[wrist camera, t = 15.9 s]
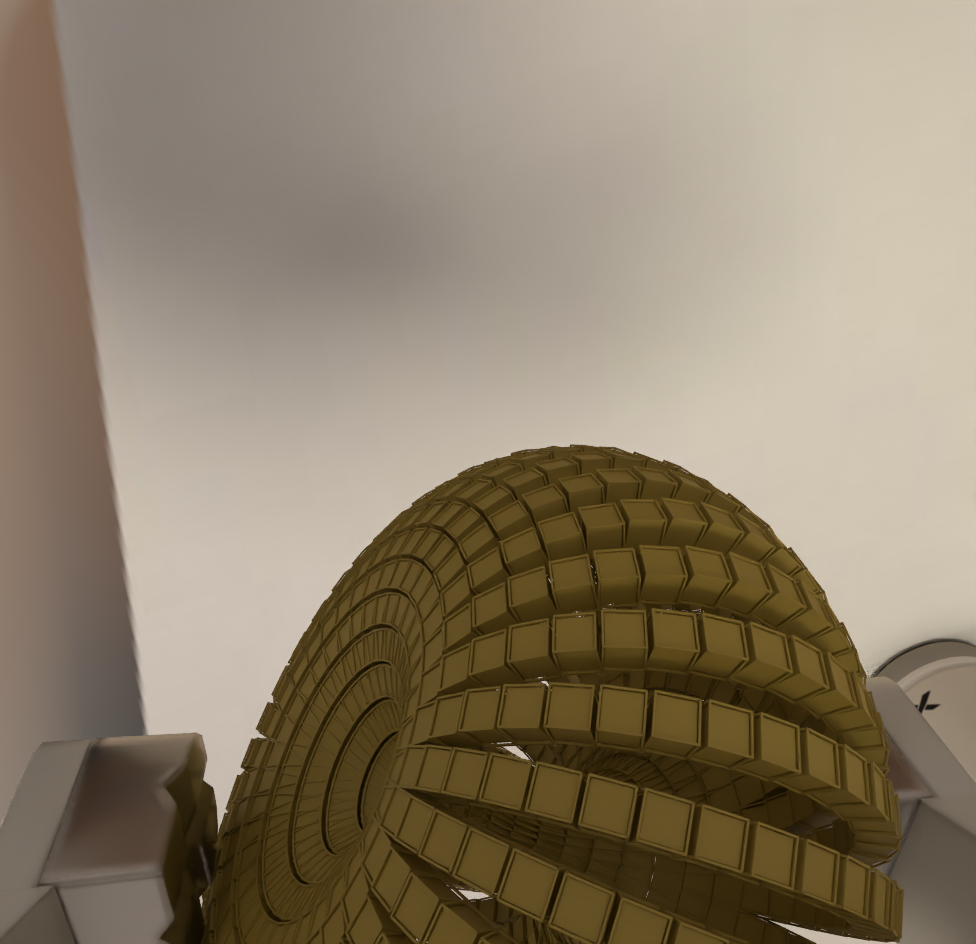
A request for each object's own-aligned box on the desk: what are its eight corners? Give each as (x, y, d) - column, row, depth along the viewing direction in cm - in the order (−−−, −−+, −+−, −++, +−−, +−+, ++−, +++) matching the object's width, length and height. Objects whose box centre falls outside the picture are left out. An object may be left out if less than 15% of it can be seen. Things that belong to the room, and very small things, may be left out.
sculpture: (420, 795, 14) (479, 1577, 7) (193, 714, 12) (-15, 1612, 6) (746, 431, 11) (1355, 1125, 4) (506, 269, 10) (864, 942, 3)
